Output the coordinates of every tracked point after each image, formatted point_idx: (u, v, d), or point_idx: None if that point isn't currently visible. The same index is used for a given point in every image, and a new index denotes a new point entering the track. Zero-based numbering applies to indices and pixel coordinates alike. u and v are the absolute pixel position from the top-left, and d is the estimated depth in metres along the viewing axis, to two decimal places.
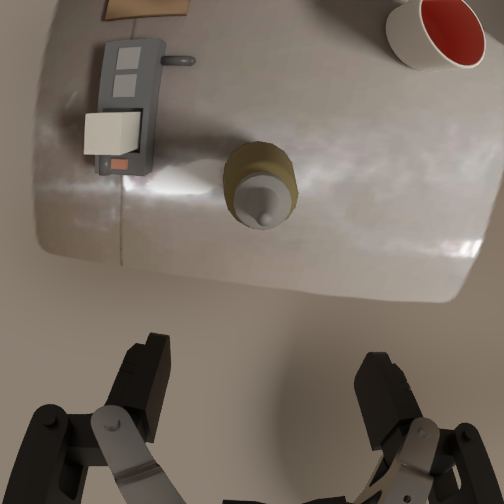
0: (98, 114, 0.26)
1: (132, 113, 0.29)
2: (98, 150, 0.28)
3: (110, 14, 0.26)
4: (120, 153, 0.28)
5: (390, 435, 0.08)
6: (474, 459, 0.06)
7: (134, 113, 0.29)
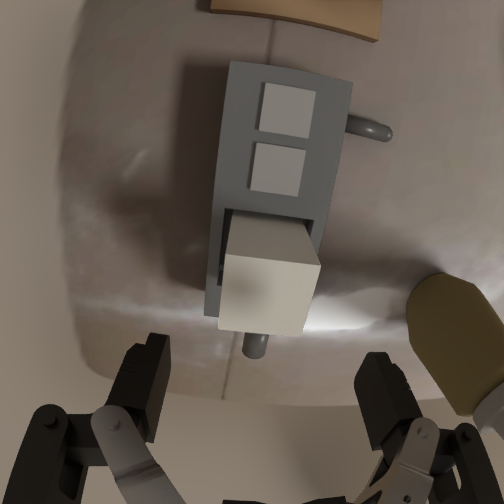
0: (260, 261, 0.14)
1: (310, 242, 0.17)
2: (253, 326, 0.16)
3: (223, 0, 0.14)
4: None
5: (390, 435, 0.08)
6: (474, 459, 0.06)
7: None
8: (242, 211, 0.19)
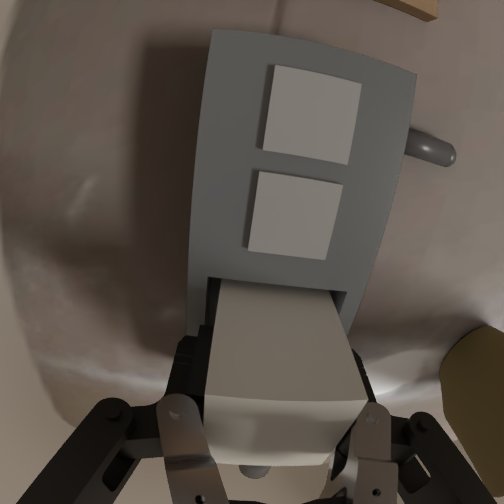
0: (267, 403, 0.07)
1: (344, 337, 0.10)
2: (255, 461, 0.09)
3: None
4: None
5: None
6: (438, 448, 0.06)
7: None
8: None
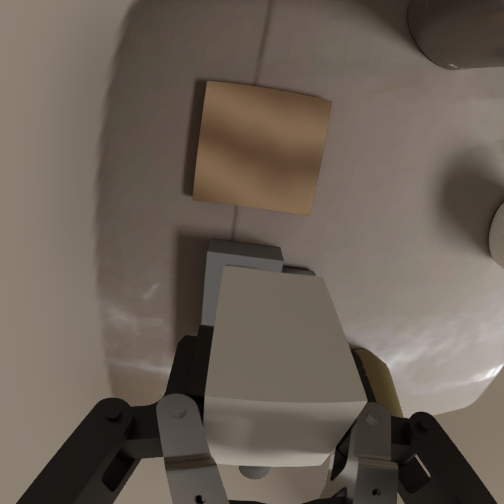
0: (267, 404, 0.07)
1: (343, 338, 0.10)
2: (255, 461, 0.09)
3: (201, 193, 0.27)
4: None
5: None
6: (438, 448, 0.06)
7: None
8: (236, 276, 0.13)
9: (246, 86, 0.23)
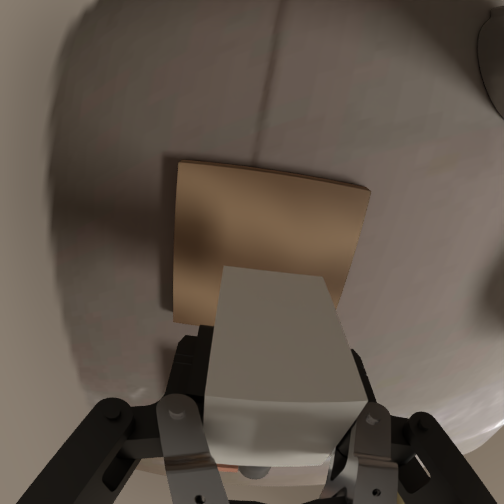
0: (267, 404, 0.07)
1: (344, 338, 0.10)
2: (255, 461, 0.09)
3: (183, 316, 0.20)
4: None
5: None
6: (438, 448, 0.06)
7: None
8: (236, 276, 0.13)
9: (240, 171, 0.16)
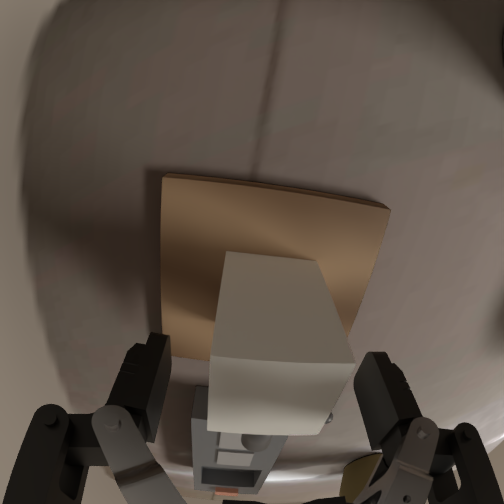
0: (265, 364, 0.09)
1: (335, 312, 0.11)
2: (255, 429, 0.10)
3: (174, 348, 0.18)
4: None
5: (389, 435, 0.08)
6: (473, 459, 0.06)
7: None
8: (238, 259, 0.14)
9: (236, 187, 0.13)
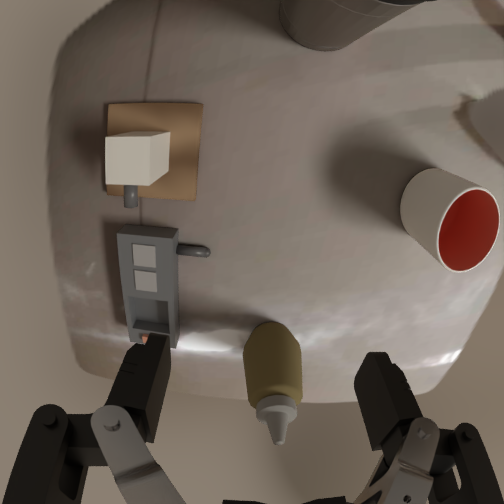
0: (121, 138, 0.24)
1: (159, 135, 0.27)
2: (123, 179, 0.26)
3: (112, 189, 0.33)
4: (149, 183, 0.26)
5: (390, 435, 0.08)
6: (474, 459, 0.06)
7: (161, 135, 0.27)
8: None
9: (135, 104, 0.29)
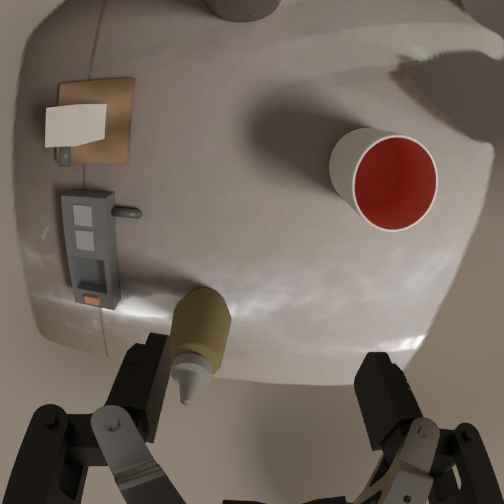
0: (57, 107, 0.24)
1: (91, 105, 0.27)
2: (57, 142, 0.26)
3: None
4: (77, 144, 0.26)
5: (390, 435, 0.08)
6: (474, 459, 0.06)
7: (93, 105, 0.27)
8: None
9: (80, 82, 0.29)
